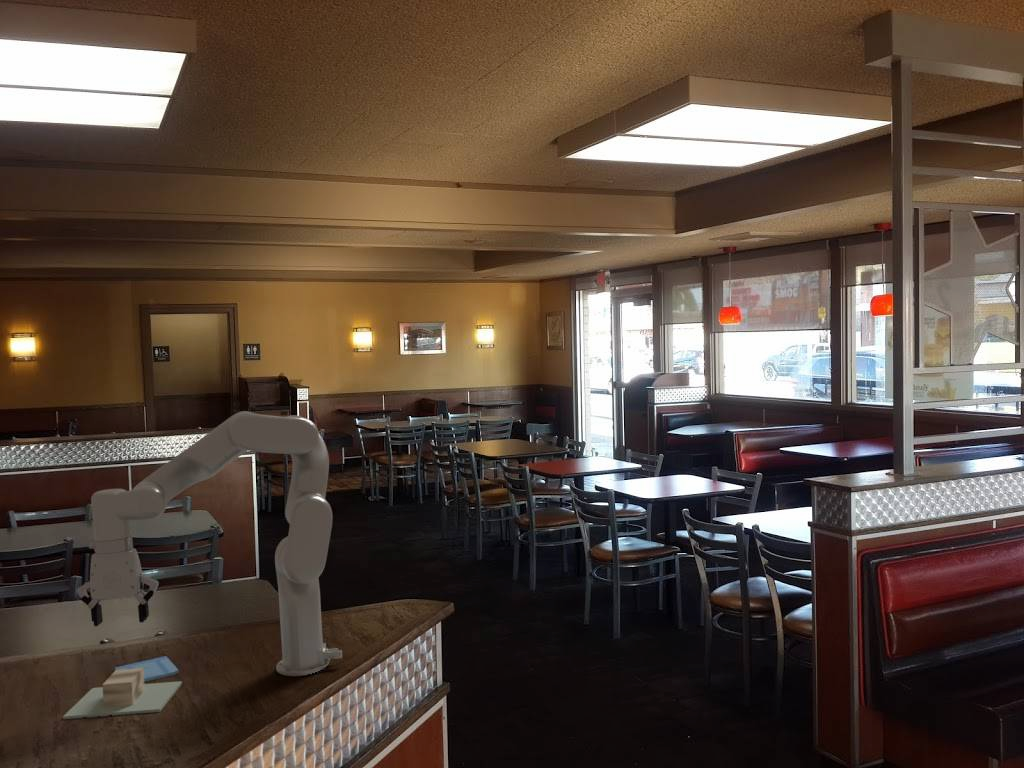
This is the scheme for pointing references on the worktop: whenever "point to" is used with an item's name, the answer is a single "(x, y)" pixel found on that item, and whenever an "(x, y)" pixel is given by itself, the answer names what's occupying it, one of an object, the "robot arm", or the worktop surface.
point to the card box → (123, 687)
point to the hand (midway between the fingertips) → (121, 622)
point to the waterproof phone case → (154, 668)
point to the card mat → (146, 703)
